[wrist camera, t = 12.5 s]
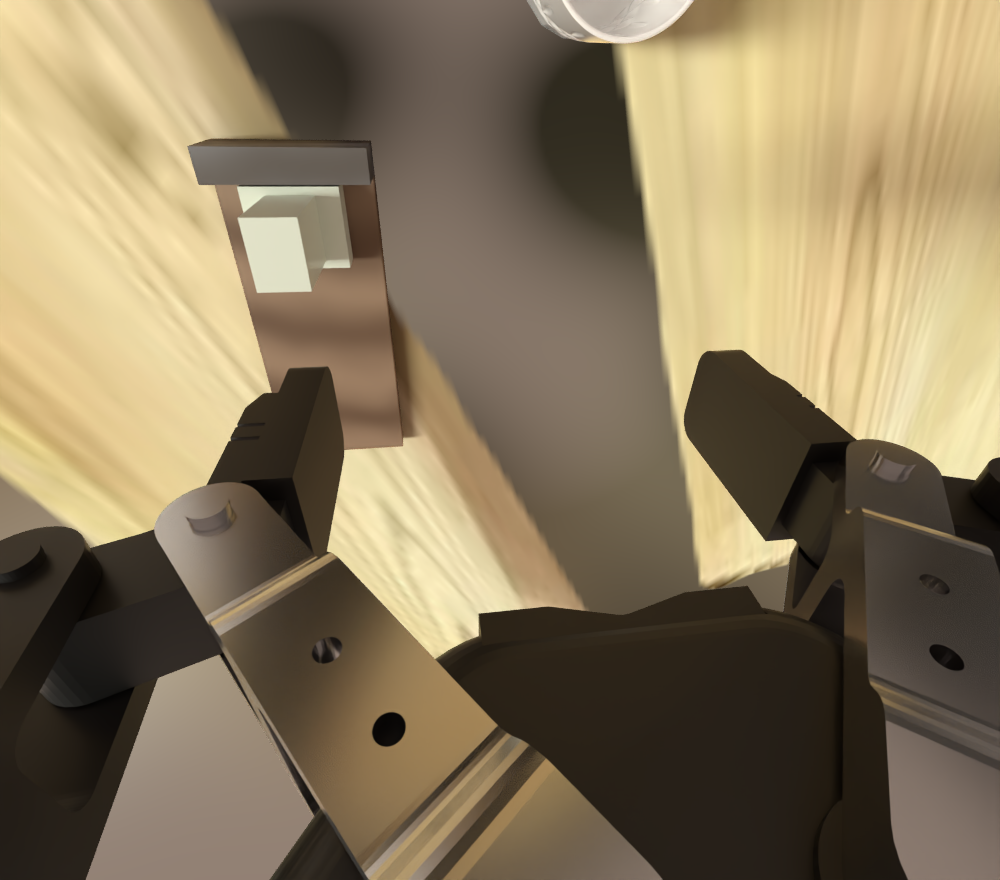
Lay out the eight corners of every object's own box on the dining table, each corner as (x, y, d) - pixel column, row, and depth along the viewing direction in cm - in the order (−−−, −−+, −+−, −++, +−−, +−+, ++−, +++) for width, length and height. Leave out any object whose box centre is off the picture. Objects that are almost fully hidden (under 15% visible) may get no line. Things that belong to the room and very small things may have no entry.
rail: (209, 138, 32) (187, 146, 29) (370, 140, 34) (366, 147, 30) (291, 443, 46) (282, 471, 43) (403, 437, 48) (402, 463, 44)
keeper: (245, 180, 33) (203, 207, 26) (341, 181, 33) (324, 207, 27) (264, 260, 35) (231, 302, 29) (353, 259, 36) (340, 299, 30)
